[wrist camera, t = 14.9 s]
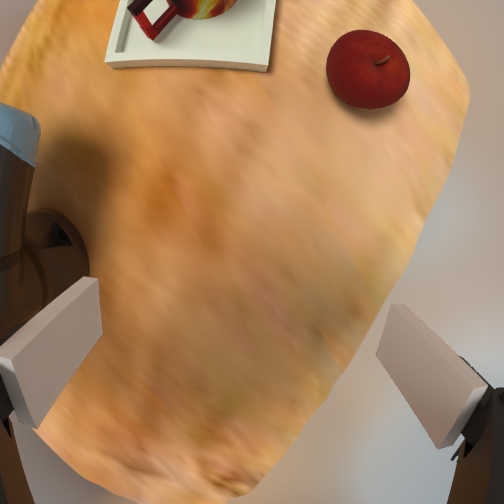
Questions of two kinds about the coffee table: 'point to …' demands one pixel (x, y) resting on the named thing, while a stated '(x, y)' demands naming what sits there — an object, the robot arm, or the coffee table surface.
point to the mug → (177, 12)
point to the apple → (367, 69)
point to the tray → (195, 38)
